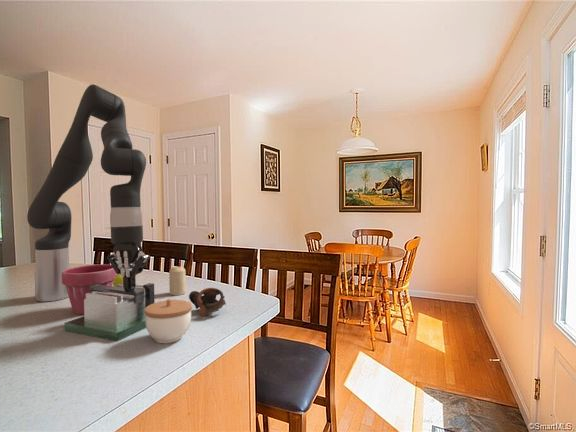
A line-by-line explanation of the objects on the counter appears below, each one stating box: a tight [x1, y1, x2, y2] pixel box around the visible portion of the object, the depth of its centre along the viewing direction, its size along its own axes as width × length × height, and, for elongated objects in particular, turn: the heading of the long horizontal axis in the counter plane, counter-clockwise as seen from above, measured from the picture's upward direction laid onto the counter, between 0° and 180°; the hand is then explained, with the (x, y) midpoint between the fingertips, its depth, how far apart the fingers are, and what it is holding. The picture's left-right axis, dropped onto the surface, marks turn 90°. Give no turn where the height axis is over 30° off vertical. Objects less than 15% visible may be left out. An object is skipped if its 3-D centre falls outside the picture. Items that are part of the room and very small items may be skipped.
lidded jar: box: [145, 298, 193, 344], centre depth 77 cm, size 11×11×9 cm
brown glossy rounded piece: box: [188, 287, 227, 318], centre depth 95 cm, size 12×10×8 cm
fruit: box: [112, 274, 123, 287], centre depth 119 cm, size 7×7×12 cm
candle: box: [168, 265, 187, 296], centre depth 115 cm, size 6×6×10 cm
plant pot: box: [62, 263, 117, 315], centre depth 97 cm, size 14×14×13 cm
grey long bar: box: [90, 284, 144, 304], centre depth 85 cm, size 16×3×3 cm, turn 69°
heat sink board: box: [64, 282, 155, 342], centre depth 85 cm, size 18×16×11 cm
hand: (129, 290), depth 84 cm, fingers closed
